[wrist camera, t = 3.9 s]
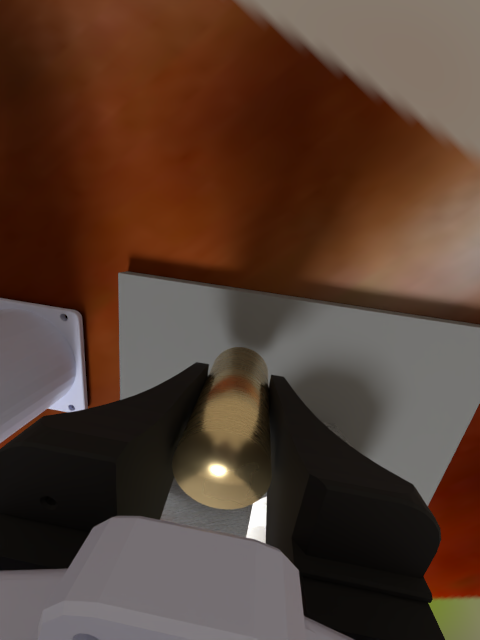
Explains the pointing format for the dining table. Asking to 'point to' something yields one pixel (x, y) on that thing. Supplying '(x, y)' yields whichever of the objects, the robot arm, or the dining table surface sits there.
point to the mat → (317, 363)
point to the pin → (228, 435)
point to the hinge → (222, 512)
